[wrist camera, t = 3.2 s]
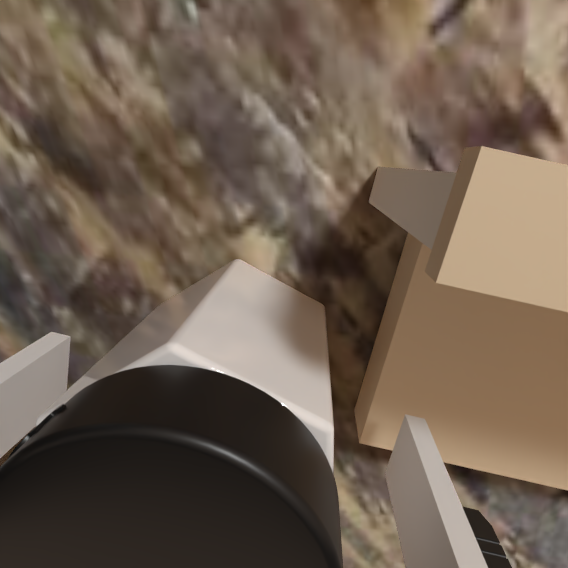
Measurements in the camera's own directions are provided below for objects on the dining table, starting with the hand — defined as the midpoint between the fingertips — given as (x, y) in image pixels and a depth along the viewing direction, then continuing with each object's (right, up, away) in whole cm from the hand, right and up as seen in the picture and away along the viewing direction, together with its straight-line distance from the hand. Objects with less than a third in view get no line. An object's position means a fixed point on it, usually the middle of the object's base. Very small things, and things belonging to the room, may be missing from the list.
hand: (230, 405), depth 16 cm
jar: (0, +2, +4) cm, 5 cm away
